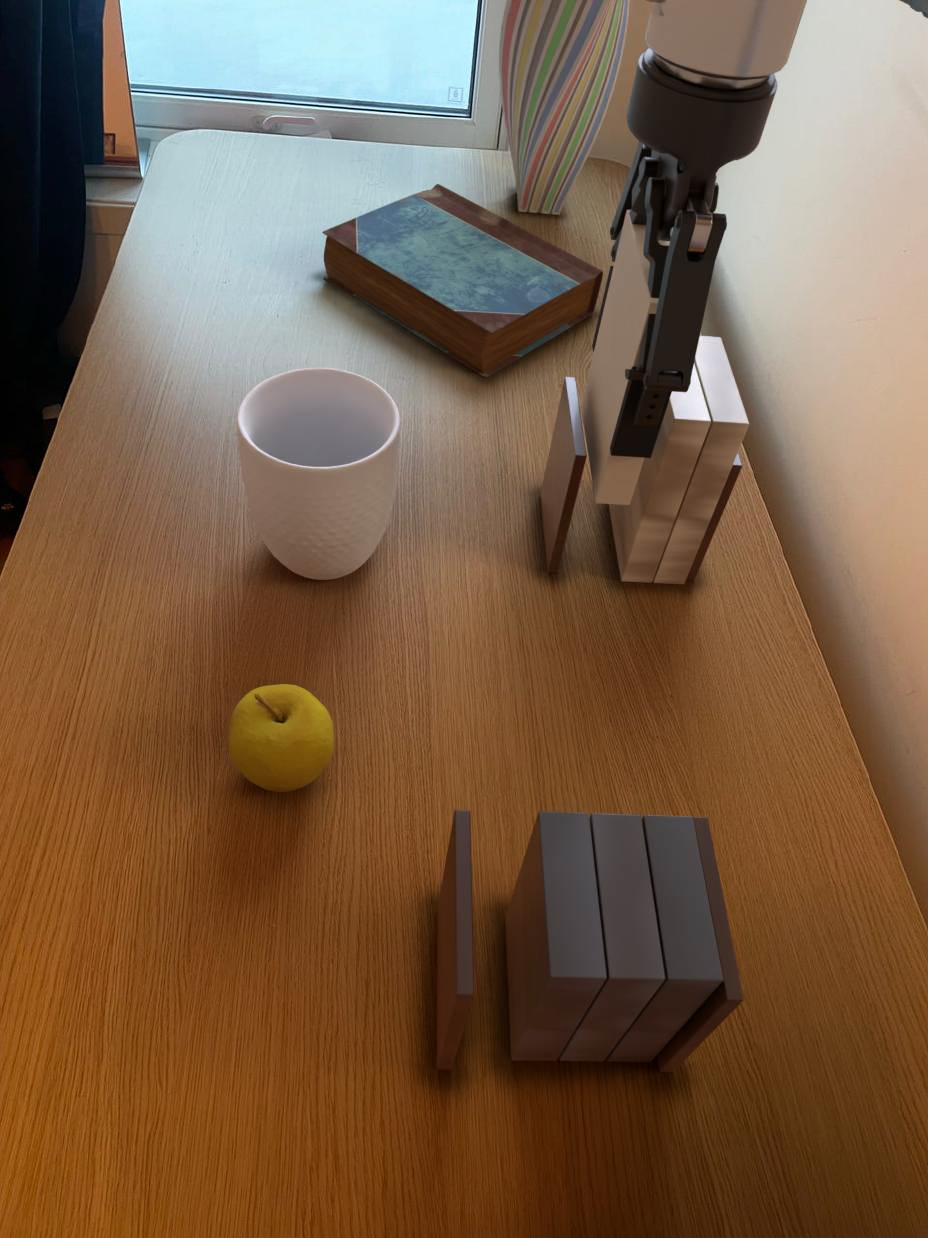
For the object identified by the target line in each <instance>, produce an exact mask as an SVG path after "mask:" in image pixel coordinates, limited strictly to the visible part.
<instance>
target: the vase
mask: <svg viewBox="0 0 928 1238" xmlns="http://www.w3.org/2000/svg"><path fill="white" fill-rule="evenodd" d="M629 16H630V0H506V2H505V6H504V11H503V16H502V22H501V27H500V35H499V36H500V37H499V47H498V48H499V49H498V72H499V73H498V74H499V75H498V76H499V89H500V99H501V108H502V113H503V118H504V120H503V121H504V127H505V131H506V137H507V142H508V146H509V152H510V156H511V162H512V167H513V173H514V178H515V187H516V188H515V189H516V199H517V211H518V212H523V213H527V212H528V213H531V214H533V213H534V214H537V213H538V214H546V215H557V216H560V214H561V212H562V209H563V207H564V204H565V202H566V201H567V198H568V197H569V194H570V192H571V191H572V189H573V187H574V185H575V183H576V181H577V179H578V177H579V175H580V173H581V171H582V169H583V168H584V165H585V164H586V161H587V158H588V157H589V155H590V153H591V151H592V148H593V146H594V144H595V143H596V139H597V137H598V135H599V132H600V129H601V127H602V125H603V122H604V119H605V117H606V115H607V112H608V108H609V105H610V102H611V99H612V96H613V94H614V90H615V87H616V84H617V79H618V76H619V73H620V69H621V65H622V59H623V54H624V49H625V43H626V39H627V31H628V24H629Z"/></svg>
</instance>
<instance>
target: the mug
mask: <svg viewBox="0 0 928 1238" xmlns="http://www.w3.org/2000/svg"><path fill="white" fill-rule="evenodd" d="M236 428H237V430H236V431H237V438H238V439H237V440H238V452H239V460H240V464H239V465H240V468H241V476H242V481H243V485H244V493H245V494H244V495H245V497H246V502H247V507H248V509H249V511H250V516H251V517H250V518H252V519H251V520H252V521H253V522H254V525H255V529H256V531H257V532H258V534H259V536H260V539H261V540H262V542H263V543H264V544H265V546H266V548H267V550H268V551H269V552H270V553H271V555H272V556H273V557H274V558H275V559H276V560H278V562H280V564H282V565H283V566H284V567H285V568H287V569H288V570H290V571H291V572H293V573H295V574H297V575H298V576H301V577H304V578H307V579H312V580H317V581H325V580H326V581H328V580H336V579H340V578H342V577H345V576H347V575H350V574H352V573H354V572H355V571H357V570H358V569H359V568H361V567H362V566H363V565H364V564H365V563H366V562H367V561H368V559H369V558H371V556H372V554H373V553H374V552H376V550H377V548H378V546H379V544H380V543H381V541H382V537H383V536H384V535H385V533H386V531H387V526H388V524H389V522H390V517H391V515H392V512H393V506H394V503H395V499H396V492H397V486H398V485H397V483H398V482H397V481H398V480H397V479H398V475H399V462H400V447H401V443H400V437H401V435H400V434H401V417H400V412H399V409H398V406H397V404H396V403H395V400H394V399H393V398H392V396H391V395H390V394H389V393H388V392H387V391H386V390H385V389H384V388H383V387H382V386H380V385H379V384H378V383H376V382H375V381H373V380H371V379H370V378H367V377H366V376H364V375H361V374H357V373H355V372H351V371H348V370H344V369H338V368H332V367H306V368H297V369H292V370H288V371H284V372H281V373H279V374H275V375H273V376H270V377H268V378H267V379H264V380H263V381H261V382H259V383H258V384H257V385H255V386H254V387H253V388H252V389H251V390H250V391H249V392H248V393H247V394H246V395H245V397H244V398H243V399H242V401H241V403H240V404H239V408H238V410H237V417H236Z"/></svg>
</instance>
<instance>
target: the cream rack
mask: <svg viewBox="0 0 928 1238" xmlns="http://www.w3.org/2000/svg"><path fill="white" fill-rule="evenodd" d="M732 369H733V368H732V366H731V363H730V360H729V357H728V353H727V351H726V348H725V345H724V342H723V339H722V337H720V336H711V335H700V337H699V342H698V346H697V351H696V356H695V361H694V366H693V371H692V375H691V383H690V386H689V389H688V391H687V392H672V393H671V396H670V399H669V403H668V406H667V409H666V412H665V415H664V418H663V421H662V424H661V428H660V431H659V434H658V437H657V440H656V443H655V446H654V449H653V453H652V456H651V458H644V460H643V464H642V467H641V470H640V473H639V476H638V480H637V483H636V486H635V489H634V492H633V496H632V499H631V502H630V505H618V504H608V508H609V515H610V522H611V527H612V534H613V540H614V546H615V552H616V559H617V564H618V570H619V577H620V581H621V582H626V583H627V582H628V583H647V584H651V583H654V584H663V585H664V584H667V585H685V583H686V581H696V578H697V575H698V573H699V571H700V569H701V566H702V565H703V561H704V559H705V557H706V554H707V552H708V550H709V547H710V544H711V542H712V540H713V538H714V535H715V533H716V531H717V528H718V526H719V523H720V521H721V518H722V516H723V514H724V512H725V510H726V507H727V505H728V502H729V500H730V497H731V495H732V492H733V490H734V487H735V486H736V483H737V481H738V478H739V476H740V473H741V471H742V468H743V463H742V459H741V456H740V453H739V451H740V448H741V446H742V443H743V441H744V439H745V436H746V434H747V431H748V429H749V426H750V422H749V418H748V415H747V413H746V409H745V405H744V403H743V400H742V397H741V394H740V391H739V387H738V384H737V382H736V379H735V376H734V372H733V370H732ZM587 457H588V453H587V446H586V439H585V433H584V426H583V419H582V412H581V406H580V401H579V395H578V387H577V380H576V377H575V376H573V377H572V376H565V377H564V380H563V383H562V388H561V394H560V398H559V403H558V408H557V413H556V417H555V422H554V427H553V432H552V437H551V442H550V447H549V450H548V455H547V461H546V465H545V470H544V475H543V480H542V484H541V489H540V494H539V497H540V507H541V516H542V526H543V527H542V528H543V536H544V537H543V538H544V548H545V558H546V568H547V569H546V570H547V574H558V573H559V569H560V565H561V561H562V557H563V553H564V549H565V545H566V542H567V539H568V533H569V529H570V526H571V521H572V518H573V514H574V509H575V505H576V501H577V497H578V493H579V489H580V486H581V482H582V477H583V473H584V469H585V466H586V462H587Z"/></svg>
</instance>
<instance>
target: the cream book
mask: <svg viewBox="0 0 928 1238" xmlns="http://www.w3.org/2000/svg"><path fill="white" fill-rule="evenodd" d="M629 212H630V210H627V211H626V216H625V220H624V224H623V228H622V233H621V237H620V241H619V246H618V250H617V254H616V259H615V262H613V266H614V267H613V271H612V276H611V280H610V284H609V289H608V293H607V297H606V302H605V306H604V310H603V315H602V319H601V323H600V327H599V332H598V336H597V340H596V345H595V349H594V352H592V353H593V354H592V358H591V362H590V367H589V370H588V375H587V380H586V383H585V388H584V392H583V396H582V401H581V406H580V411H581V417H582V424H583V431H584V437H585V444H586V451H587V457H588V462H589V469H590V476H591V482H592V483H591V484H592V488H593V497H594V502H595V504H602V505H609V504H618V505H630V502H631V499H632V496H633V492H634V489H635V486H636V483H637V480H638V476H639V473H640V470H641V467H642V464H643V460H644V458H641V457H625V456H611V453H610V445H611V442H612V438H613V434H614V431H615V427H616V423H617V420H618V416H619V412H620V409H621V405H622V401H623V398H624V394H625V390H626V387H627V383H628V380H627V379H626V377H625V369H631V368H632V366H633V367H637V366H638V361H639V353H640V345H641V341H642V338H643V334H644V331H645V327H646V323H647V320H648V316H649V313H650V314H656V312H657V306H658V301H659V298H651V295H650V291H649V288H648V278H649V269H650V262H649V261H648V260H647V259H646V258H645V257H644V254H643V249H644V240H645V232H646V225H638V224H632V222H631V218H630V214H629ZM658 242H659V243H660V244H661V245H665V246H669V244H670V242H669V241H661V240H658Z"/></svg>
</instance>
